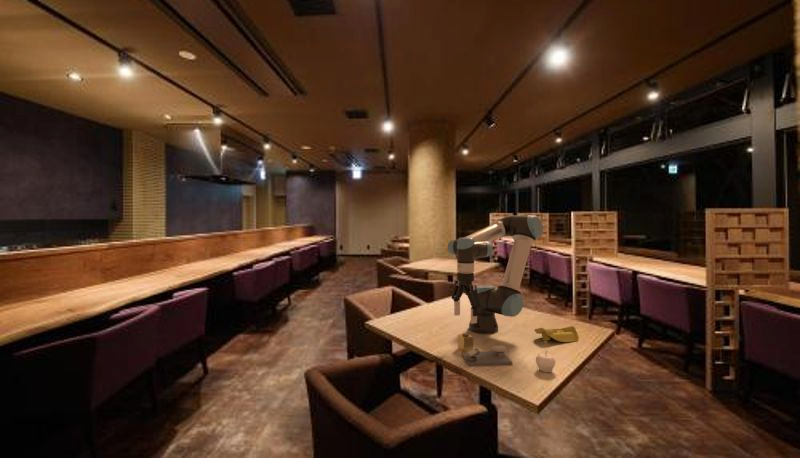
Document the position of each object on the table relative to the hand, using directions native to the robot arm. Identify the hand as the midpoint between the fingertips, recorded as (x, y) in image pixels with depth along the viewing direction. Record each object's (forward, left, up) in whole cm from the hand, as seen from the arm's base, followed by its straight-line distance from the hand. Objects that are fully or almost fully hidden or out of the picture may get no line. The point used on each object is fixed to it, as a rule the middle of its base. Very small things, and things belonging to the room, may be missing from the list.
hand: (465, 319), depth 164 cm
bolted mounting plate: (-6, +12, -14) cm, 19 cm away
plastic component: (-47, -11, -14) cm, 50 cm away
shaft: (0, +14, -13) cm, 19 cm away
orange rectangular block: (0, 0, -14) cm, 14 cm away
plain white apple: (-26, +24, -14) cm, 38 cm away
